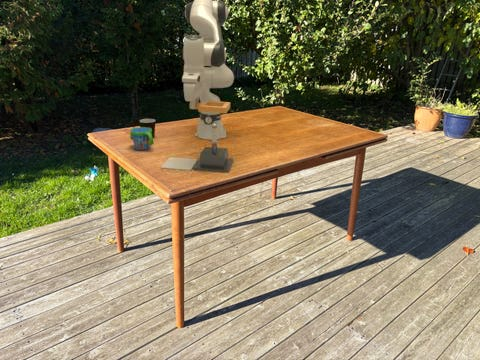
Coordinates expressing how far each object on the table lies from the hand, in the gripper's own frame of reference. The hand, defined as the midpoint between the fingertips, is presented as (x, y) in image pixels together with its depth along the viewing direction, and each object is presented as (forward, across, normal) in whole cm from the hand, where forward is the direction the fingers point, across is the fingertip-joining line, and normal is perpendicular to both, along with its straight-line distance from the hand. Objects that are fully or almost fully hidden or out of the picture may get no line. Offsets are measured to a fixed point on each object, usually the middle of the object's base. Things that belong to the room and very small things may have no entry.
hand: (194, 107), depth 165 cm
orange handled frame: (0, 0, +7) cm, 7 cm away
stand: (+27, 0, +9) cm, 28 cm away
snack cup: (+27, -16, -32) cm, 45 cm away
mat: (+27, +2, -7) cm, 28 cm away
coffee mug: (+27, -35, -37) cm, 58 cm away
